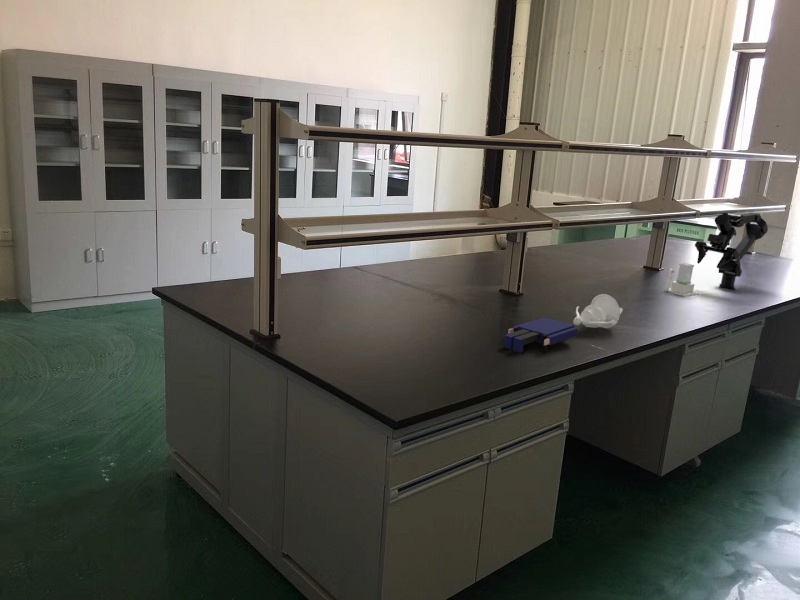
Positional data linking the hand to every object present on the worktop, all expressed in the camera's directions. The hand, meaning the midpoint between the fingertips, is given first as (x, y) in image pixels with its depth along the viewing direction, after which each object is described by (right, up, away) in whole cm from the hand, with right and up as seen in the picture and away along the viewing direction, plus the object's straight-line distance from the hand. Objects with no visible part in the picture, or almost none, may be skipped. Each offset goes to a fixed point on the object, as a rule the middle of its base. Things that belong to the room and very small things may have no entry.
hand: (707, 265), depth 296 cm
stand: (-12, -12, -1) cm, 17 cm away
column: (-12, -12, -1) cm, 17 cm away
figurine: (-70, -26, -65) cm, 99 cm away
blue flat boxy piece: (-94, -30, -84) cm, 130 cm away
